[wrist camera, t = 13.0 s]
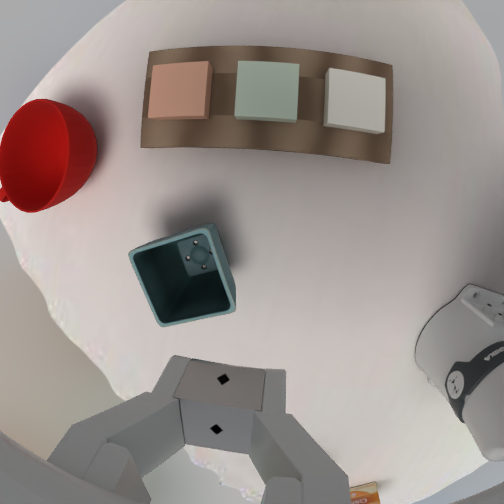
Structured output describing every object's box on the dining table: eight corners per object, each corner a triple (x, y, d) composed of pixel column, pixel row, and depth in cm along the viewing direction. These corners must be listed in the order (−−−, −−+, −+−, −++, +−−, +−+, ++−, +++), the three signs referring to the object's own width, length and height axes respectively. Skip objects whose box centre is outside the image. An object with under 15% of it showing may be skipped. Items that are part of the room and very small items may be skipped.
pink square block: (217, 74, 30) (208, 61, 25) (213, 122, 31) (203, 115, 27) (168, 76, 30) (153, 65, 25) (164, 123, 32) (147, 117, 27)
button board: (385, 70, 28) (392, 65, 26) (382, 163, 32) (390, 163, 29) (156, 57, 30) (149, 51, 27) (148, 148, 33) (140, 147, 31)
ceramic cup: (22, 156, 34) (-23, 161, 24) (96, 89, 31) (50, 75, 21) (50, 227, 37) (5, 246, 28) (130, 169, 34) (86, 174, 24)
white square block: (371, 88, 29) (385, 78, 24) (369, 136, 31) (384, 132, 26) (321, 80, 29) (329, 67, 24) (319, 128, 31) (327, 123, 26)
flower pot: (245, 278, 37) (237, 312, 28) (181, 294, 38) (159, 328, 30) (223, 210, 35) (207, 226, 26) (158, 231, 36) (126, 252, 28)
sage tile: (295, 77, 29) (299, 64, 25) (293, 126, 31) (296, 119, 26) (242, 74, 29) (238, 60, 25) (239, 122, 31) (234, 115, 27)
